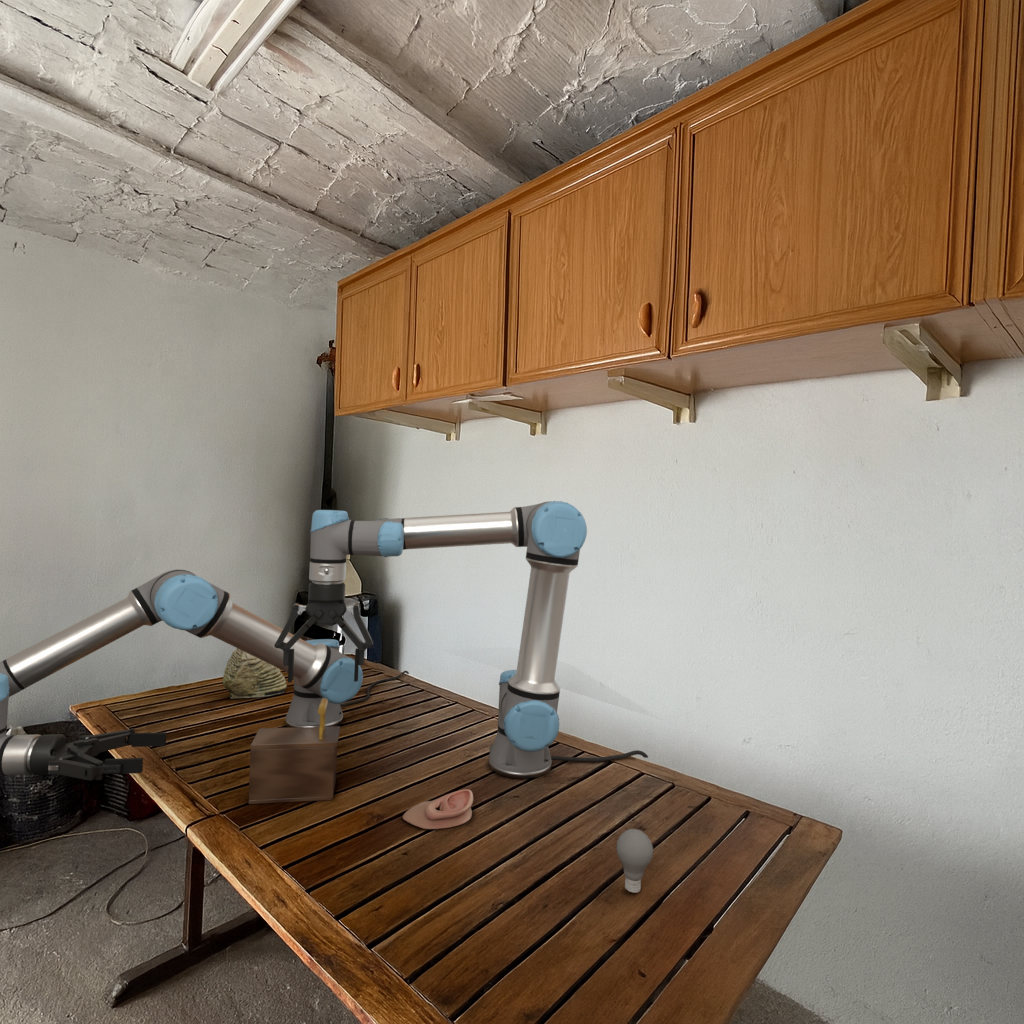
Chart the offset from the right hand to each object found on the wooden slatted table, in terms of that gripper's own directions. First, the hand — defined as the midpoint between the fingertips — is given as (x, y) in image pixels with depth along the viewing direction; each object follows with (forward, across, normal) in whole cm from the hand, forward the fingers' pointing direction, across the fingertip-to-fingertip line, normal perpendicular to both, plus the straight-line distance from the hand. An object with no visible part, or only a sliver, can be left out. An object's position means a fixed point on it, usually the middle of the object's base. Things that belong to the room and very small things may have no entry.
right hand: (323, 680), depth 136 cm
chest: (+24, -5, 0) cm, 24 cm away
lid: (+13, -5, 0) cm, 14 cm away
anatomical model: (+24, +24, -14) cm, 37 cm away
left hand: (+14, -33, 0) cm, 36 cm away
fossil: (+24, -26, +68) cm, 77 cm away
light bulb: (+24, +54, -43) cm, 73 cm away
